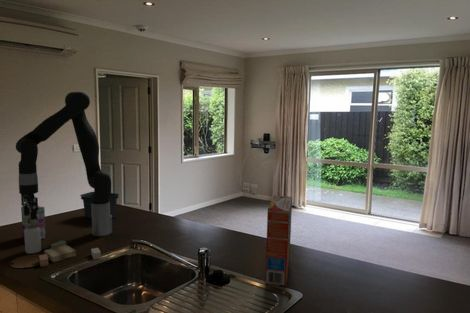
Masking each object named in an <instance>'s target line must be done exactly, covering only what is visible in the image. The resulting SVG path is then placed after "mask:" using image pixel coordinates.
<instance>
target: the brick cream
mask: <svg viewBox="0 0 470 313" xmlns="http://www.w3.org/2000/svg"><path fill="white" fill-rule="evenodd" d="M90 251H91V252H90V254H91V256H92V259H93V260H98V259H101V258H102V254H101V250H100V248H99V247H94V248H91V250H90Z"/></svg>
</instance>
